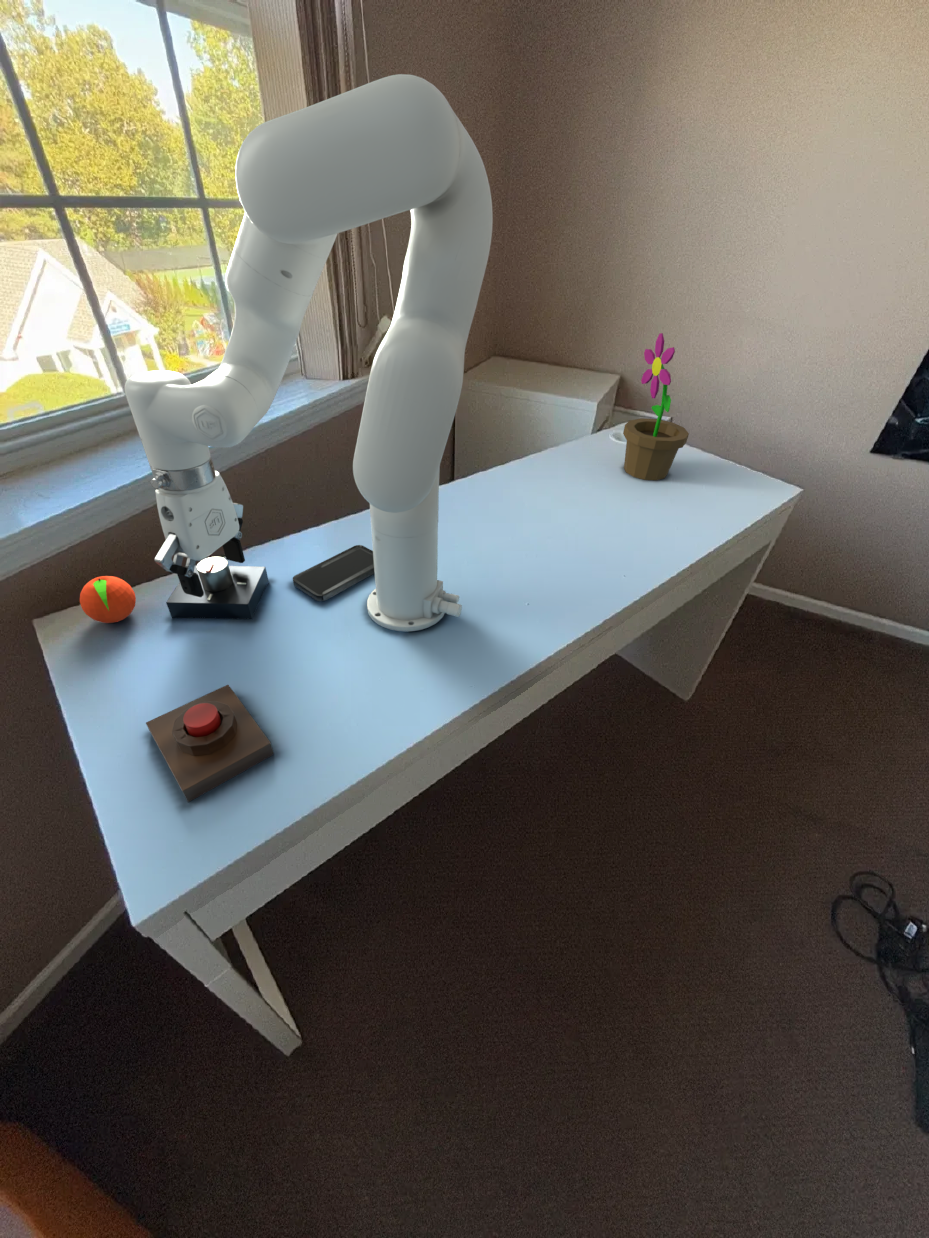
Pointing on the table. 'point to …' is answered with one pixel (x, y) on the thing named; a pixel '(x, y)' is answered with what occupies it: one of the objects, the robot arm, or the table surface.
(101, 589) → the clementine
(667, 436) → the flowerpot
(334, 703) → the table surface
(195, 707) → the button
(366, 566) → the phone
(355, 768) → the table surface
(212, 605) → the panel
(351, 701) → the table surface
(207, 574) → the hob knob
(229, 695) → the button block
